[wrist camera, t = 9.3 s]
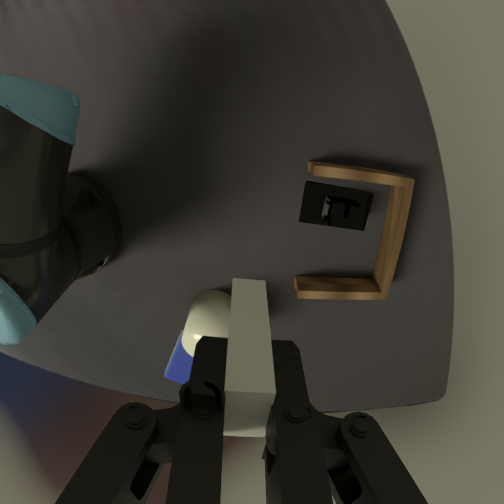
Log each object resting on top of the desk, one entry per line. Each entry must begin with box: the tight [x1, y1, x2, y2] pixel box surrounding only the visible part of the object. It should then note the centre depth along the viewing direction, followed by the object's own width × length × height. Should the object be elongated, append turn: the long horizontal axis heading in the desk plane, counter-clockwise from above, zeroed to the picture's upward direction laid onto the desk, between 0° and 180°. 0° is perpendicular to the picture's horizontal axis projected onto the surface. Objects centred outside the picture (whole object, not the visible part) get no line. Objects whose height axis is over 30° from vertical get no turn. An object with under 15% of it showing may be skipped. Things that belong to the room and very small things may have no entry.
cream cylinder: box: [182, 290, 231, 357], centre depth 42 cm, size 7×7×8 cm
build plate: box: [299, 181, 373, 231], centre depth 37 cm, size 12×7×5 cm, turn 83°
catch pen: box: [294, 161, 415, 300], centre depth 38 cm, size 13×17×4 cm
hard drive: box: [164, 330, 193, 384], centre depth 50 cm, size 2×8×12 cm
